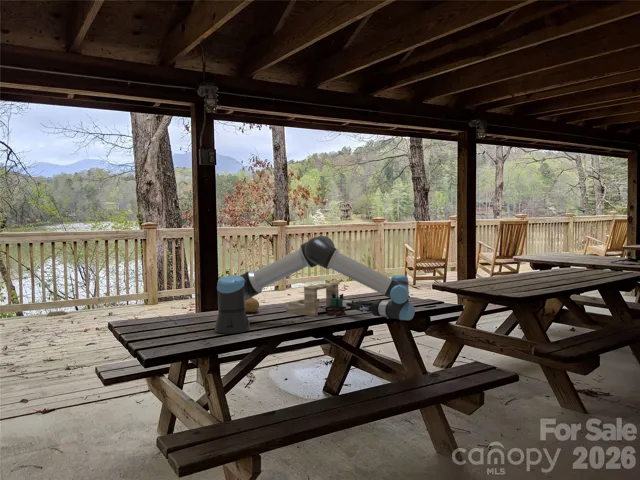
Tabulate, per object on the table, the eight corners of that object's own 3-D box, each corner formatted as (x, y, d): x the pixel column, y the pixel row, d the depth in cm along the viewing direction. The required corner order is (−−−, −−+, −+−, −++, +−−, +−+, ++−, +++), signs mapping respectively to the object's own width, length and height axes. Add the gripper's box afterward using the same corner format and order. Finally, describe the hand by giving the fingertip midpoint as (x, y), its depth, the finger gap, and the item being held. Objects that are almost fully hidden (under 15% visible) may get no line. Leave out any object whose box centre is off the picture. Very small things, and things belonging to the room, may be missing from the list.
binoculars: (321, 297, 230) (332, 292, 238) (323, 317, 231) (334, 312, 239) (337, 298, 225) (347, 293, 233) (339, 319, 226) (349, 313, 235)
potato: (246, 315, 238) (246, 300, 237) (236, 311, 250) (236, 296, 249) (264, 313, 243) (263, 298, 242) (253, 309, 255) (253, 294, 254)
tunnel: (314, 316, 230) (314, 288, 229) (286, 311, 245) (285, 284, 244) (338, 310, 243) (338, 283, 242) (310, 306, 258) (309, 281, 257)
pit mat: (330, 309, 249) (330, 308, 249) (320, 307, 253) (320, 307, 253) (340, 306, 254) (340, 306, 254) (330, 305, 259) (330, 304, 259)
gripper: (373, 319, 209) (334, 312, 225) (390, 314, 218) (352, 308, 235) (373, 302, 209) (334, 297, 225) (390, 298, 218) (351, 293, 234)
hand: (343, 303), depth 230 cm, fingers closed
